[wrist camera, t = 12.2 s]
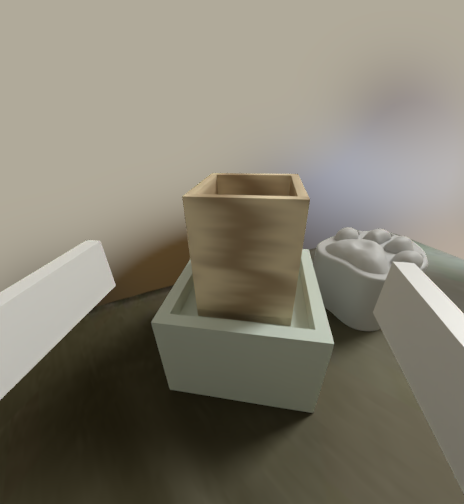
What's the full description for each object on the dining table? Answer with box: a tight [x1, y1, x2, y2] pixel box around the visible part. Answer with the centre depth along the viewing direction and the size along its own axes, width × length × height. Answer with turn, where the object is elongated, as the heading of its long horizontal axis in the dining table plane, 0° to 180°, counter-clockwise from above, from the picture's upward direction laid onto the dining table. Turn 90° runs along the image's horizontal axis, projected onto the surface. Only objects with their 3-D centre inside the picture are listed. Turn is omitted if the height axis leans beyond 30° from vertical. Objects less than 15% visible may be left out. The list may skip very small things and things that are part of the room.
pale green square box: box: [151, 249, 334, 413], centre depth 23 cm, size 13×13×8 cm
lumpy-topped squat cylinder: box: [313, 227, 428, 331], centre depth 29 cm, size 10×13×9 cm
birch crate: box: [182, 173, 310, 326], centre depth 19 cm, size 8×8×10 cm
